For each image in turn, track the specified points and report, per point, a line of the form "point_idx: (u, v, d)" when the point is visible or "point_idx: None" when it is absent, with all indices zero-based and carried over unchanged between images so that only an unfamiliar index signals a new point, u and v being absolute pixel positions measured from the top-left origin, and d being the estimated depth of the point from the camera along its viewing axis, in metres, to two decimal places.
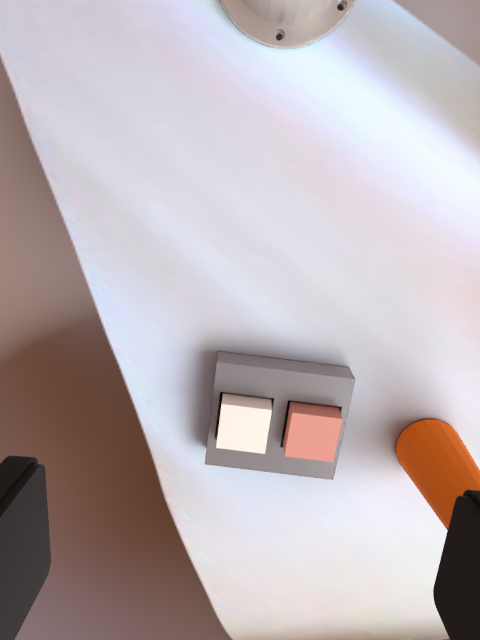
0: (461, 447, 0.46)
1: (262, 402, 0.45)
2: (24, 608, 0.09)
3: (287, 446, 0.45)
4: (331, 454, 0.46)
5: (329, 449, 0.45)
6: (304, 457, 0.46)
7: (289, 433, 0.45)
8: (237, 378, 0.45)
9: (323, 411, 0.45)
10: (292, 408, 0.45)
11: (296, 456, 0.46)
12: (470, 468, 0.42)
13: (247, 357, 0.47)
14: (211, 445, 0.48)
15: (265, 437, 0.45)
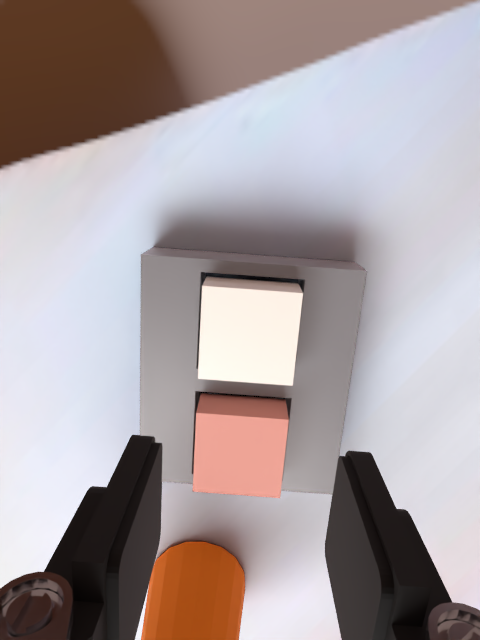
0: None
1: None
2: (149, 570, 0.10)
3: (217, 416, 0.24)
4: (208, 487, 0.26)
5: (218, 484, 0.25)
6: (197, 445, 0.25)
7: (245, 418, 0.24)
8: (333, 310, 0.24)
9: None
10: None
11: (198, 432, 0.25)
12: None
13: None
14: (185, 266, 0.24)
15: (234, 377, 0.24)
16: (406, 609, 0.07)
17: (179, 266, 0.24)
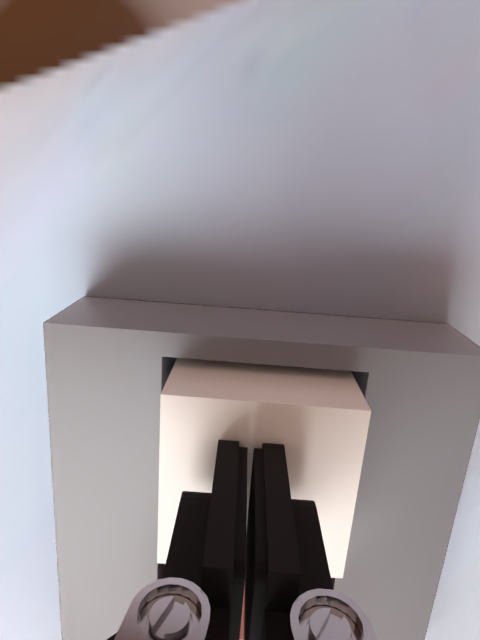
0: None
1: None
2: None
3: None
4: None
5: None
6: None
7: None
8: (422, 430, 0.13)
9: None
10: None
11: None
12: None
13: None
14: (132, 346, 0.12)
15: None
16: (278, 595, 0.07)
17: (119, 345, 0.12)
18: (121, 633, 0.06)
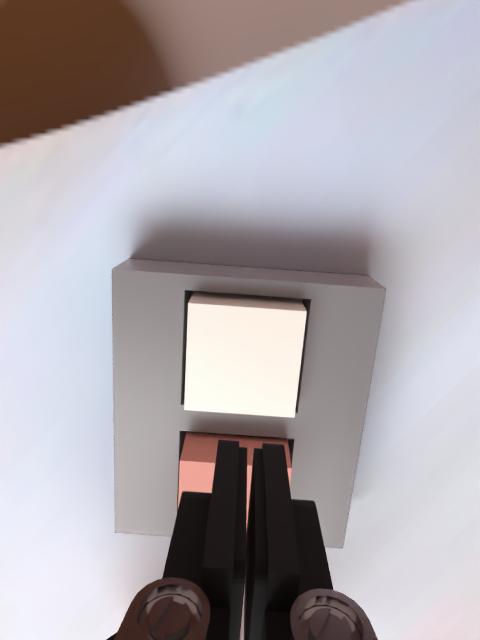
0: None
1: None
2: None
3: (205, 464, 0.20)
4: None
5: None
6: None
7: None
8: (345, 336, 0.20)
9: None
10: None
11: (182, 484, 0.20)
12: None
13: None
14: (166, 283, 0.20)
15: (226, 408, 0.20)
16: (278, 595, 0.07)
17: (158, 283, 0.20)
18: (122, 633, 0.06)
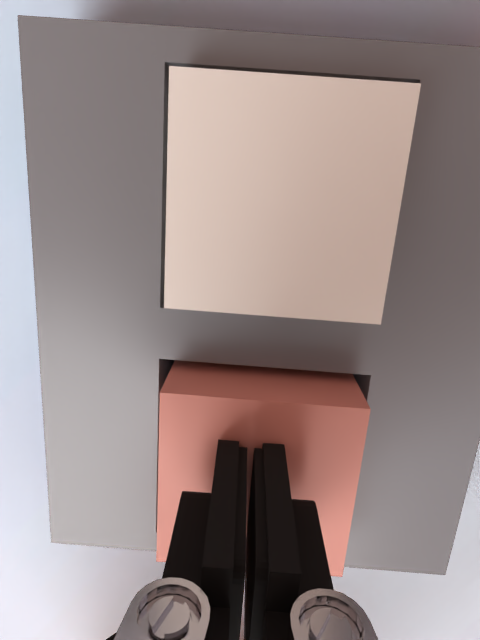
0: None
1: None
2: None
3: (208, 401, 0.11)
4: None
5: None
6: (163, 466, 0.11)
7: (271, 405, 0.11)
8: None
9: None
10: None
11: (164, 438, 0.11)
12: None
13: None
14: (128, 47, 0.10)
15: (246, 305, 0.10)
16: (278, 595, 0.07)
17: (112, 47, 0.10)
18: (121, 633, 0.06)
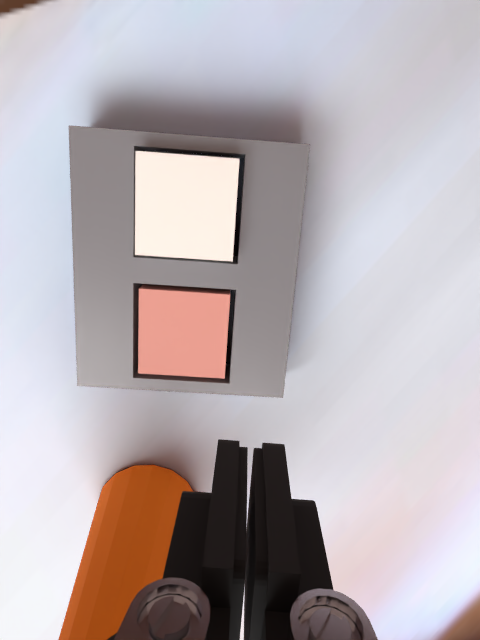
0: None
1: None
2: None
3: (160, 292, 0.25)
4: (153, 368, 0.26)
5: (163, 364, 0.26)
6: (140, 324, 0.25)
7: (187, 293, 0.25)
8: (276, 190, 0.23)
9: None
10: (229, 292, 0.26)
11: (141, 310, 0.25)
12: None
13: None
14: (117, 139, 0.22)
15: (172, 253, 0.23)
16: (278, 595, 0.07)
17: (110, 139, 0.22)
18: (121, 633, 0.06)
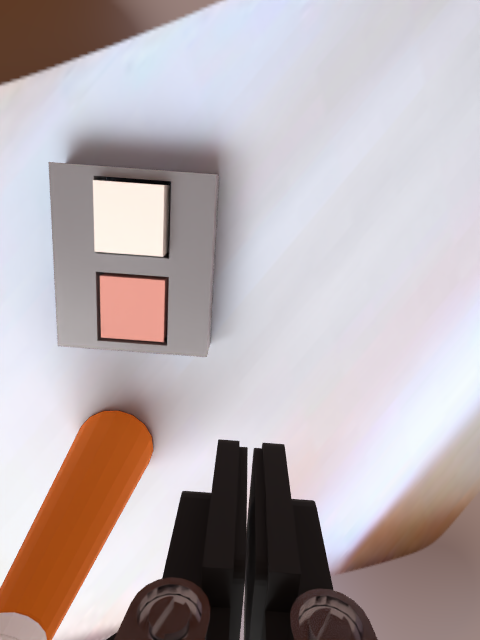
0: (135, 486, 0.38)
1: (166, 241, 0.34)
2: None
3: (114, 278, 0.34)
4: (111, 334, 0.36)
5: (118, 331, 0.36)
6: (102, 301, 0.35)
7: (134, 279, 0.34)
8: (194, 206, 0.33)
9: (166, 317, 0.36)
10: (166, 279, 0.35)
11: (101, 291, 0.35)
12: (122, 507, 0.35)
13: (216, 216, 0.35)
14: (82, 171, 0.32)
15: (120, 250, 0.33)
16: (278, 595, 0.07)
17: (77, 171, 0.32)
18: (121, 633, 0.06)
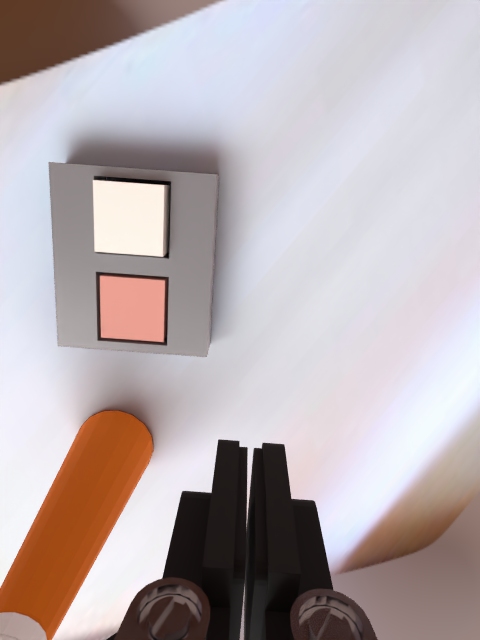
0: (135, 486, 0.38)
1: (166, 241, 0.34)
2: None
3: (114, 278, 0.34)
4: (111, 334, 0.36)
5: (118, 331, 0.36)
6: (102, 301, 0.35)
7: (134, 279, 0.34)
8: (194, 206, 0.33)
9: (166, 317, 0.36)
10: (166, 279, 0.35)
11: (101, 291, 0.35)
12: (122, 507, 0.35)
13: (216, 216, 0.35)
14: (82, 171, 0.32)
15: (120, 250, 0.33)
16: (278, 595, 0.07)
17: (77, 171, 0.32)
18: (121, 633, 0.06)
